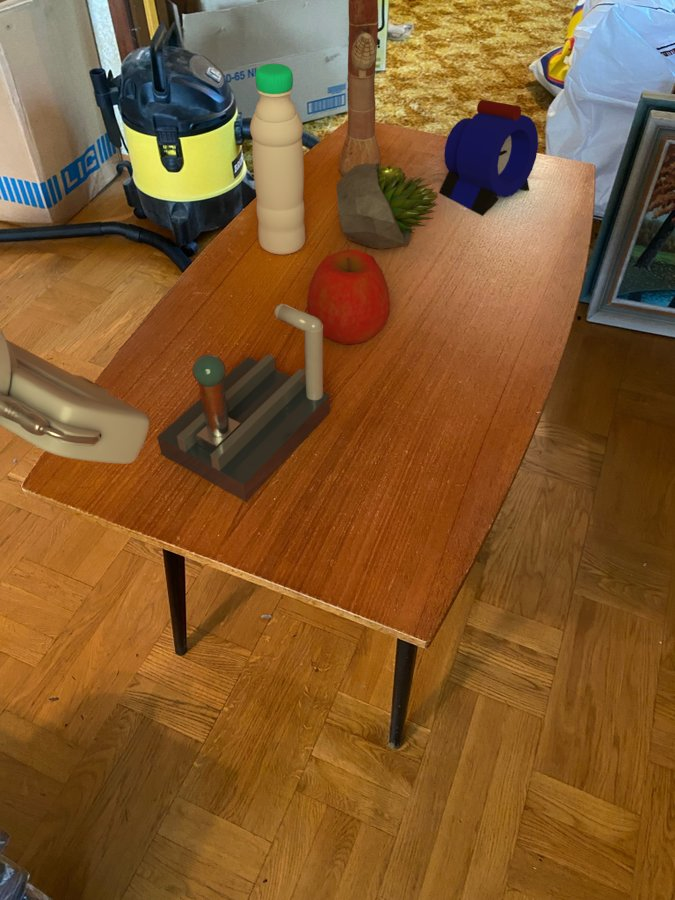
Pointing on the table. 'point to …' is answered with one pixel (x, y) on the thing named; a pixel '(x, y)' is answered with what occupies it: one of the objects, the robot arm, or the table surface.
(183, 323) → the table surface
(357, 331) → the apple
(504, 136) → the alarm clock
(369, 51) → the brown carved wooden post
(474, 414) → the table surface
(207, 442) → the tap handle
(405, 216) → the potted plant
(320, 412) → the tap base
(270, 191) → the water bottle
